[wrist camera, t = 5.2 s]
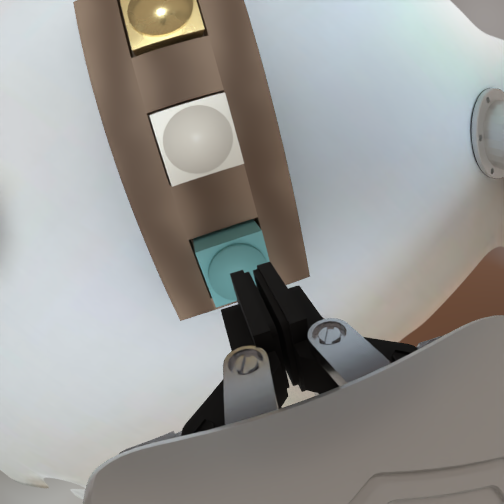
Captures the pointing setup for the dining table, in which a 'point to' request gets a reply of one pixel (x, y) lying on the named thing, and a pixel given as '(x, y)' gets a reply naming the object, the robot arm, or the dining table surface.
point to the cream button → (197, 138)
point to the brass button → (161, 23)
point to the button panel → (149, 156)
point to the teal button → (229, 257)
